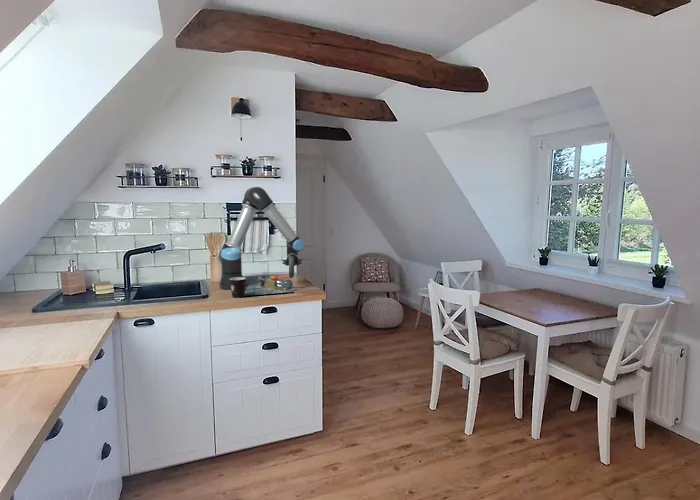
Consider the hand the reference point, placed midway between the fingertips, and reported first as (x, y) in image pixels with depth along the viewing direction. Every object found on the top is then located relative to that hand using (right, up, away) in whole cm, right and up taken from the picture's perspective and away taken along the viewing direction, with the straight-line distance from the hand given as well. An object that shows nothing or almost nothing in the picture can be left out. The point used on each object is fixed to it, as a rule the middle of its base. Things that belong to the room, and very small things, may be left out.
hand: (292, 265), depth 243 cm
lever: (-6, -8, 0) cm, 10 cm away
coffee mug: (-26, -17, -21) cm, 37 cm away
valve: (-11, -14, +1) cm, 18 cm away
